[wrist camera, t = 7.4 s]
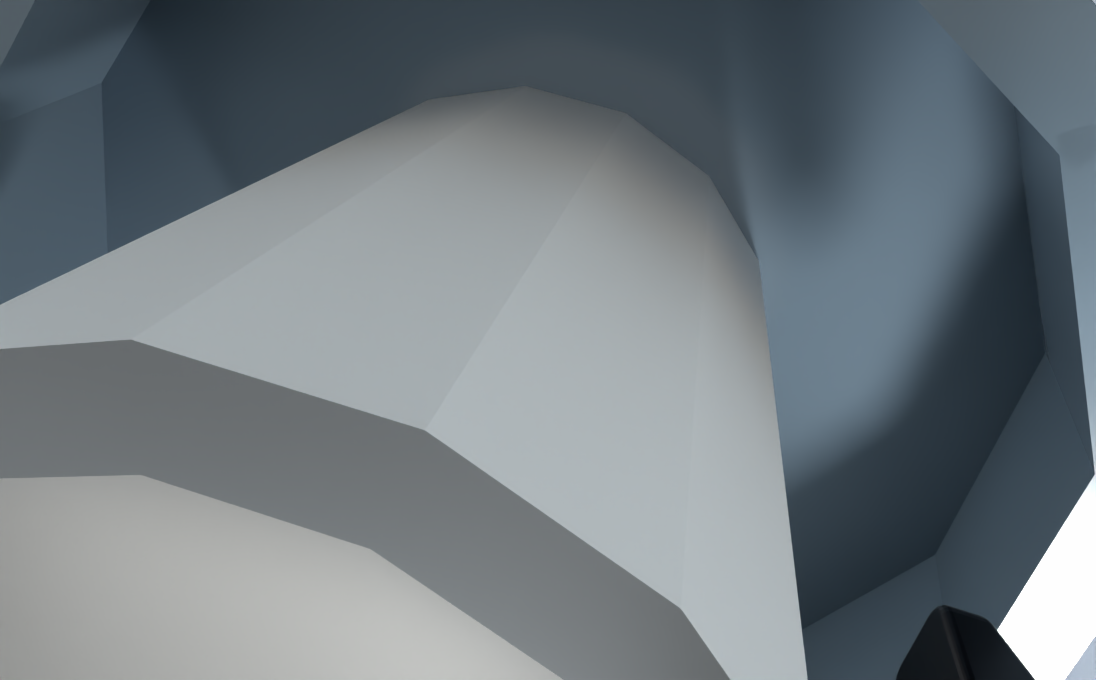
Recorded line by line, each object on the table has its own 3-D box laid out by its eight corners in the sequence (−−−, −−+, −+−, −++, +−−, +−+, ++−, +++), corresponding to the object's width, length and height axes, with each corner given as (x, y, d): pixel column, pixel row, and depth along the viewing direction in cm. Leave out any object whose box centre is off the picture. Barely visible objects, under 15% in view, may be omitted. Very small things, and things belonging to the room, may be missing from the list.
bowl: (856, 767, 15) (864, 965, 13) (104, 514, 16) (-29, 648, 14) (1372, -126, 9) (1606, -94, 6) (61, -427, 10) (-204, -505, 7)
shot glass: (209, 407, 14) (-266, 890, 8) (344, -93, 10) (-350, 72, 4) (660, 627, 14) (541, 1284, 8) (956, 209, 10) (1174, 821, 4)
